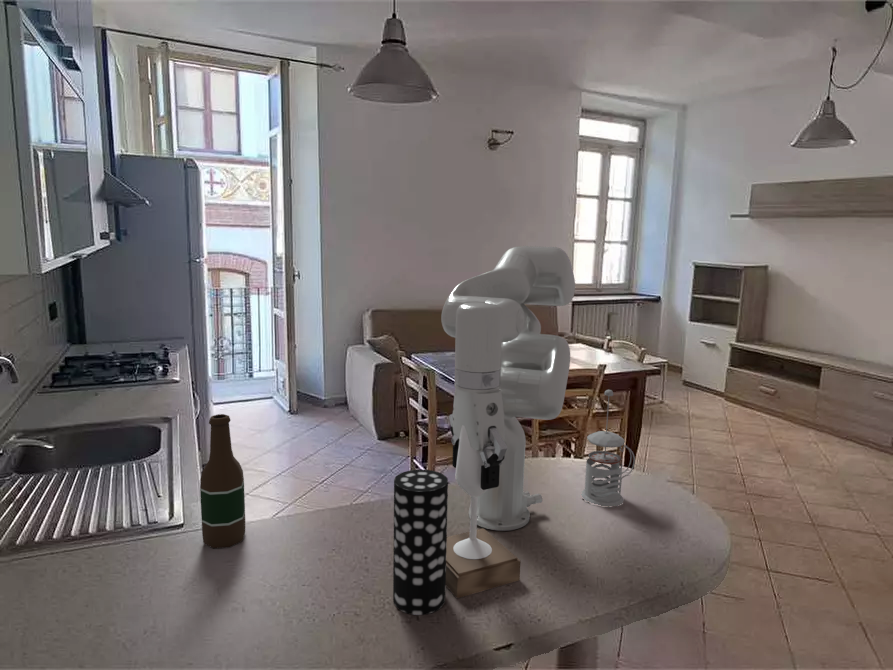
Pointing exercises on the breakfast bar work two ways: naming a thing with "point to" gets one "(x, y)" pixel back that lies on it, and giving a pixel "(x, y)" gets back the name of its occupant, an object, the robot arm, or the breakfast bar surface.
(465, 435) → the champagne flute
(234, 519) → the beer bottle
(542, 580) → the breakfast bar surface
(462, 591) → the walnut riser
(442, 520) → the spotted tube
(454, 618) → the breakfast bar surface
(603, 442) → the french press
